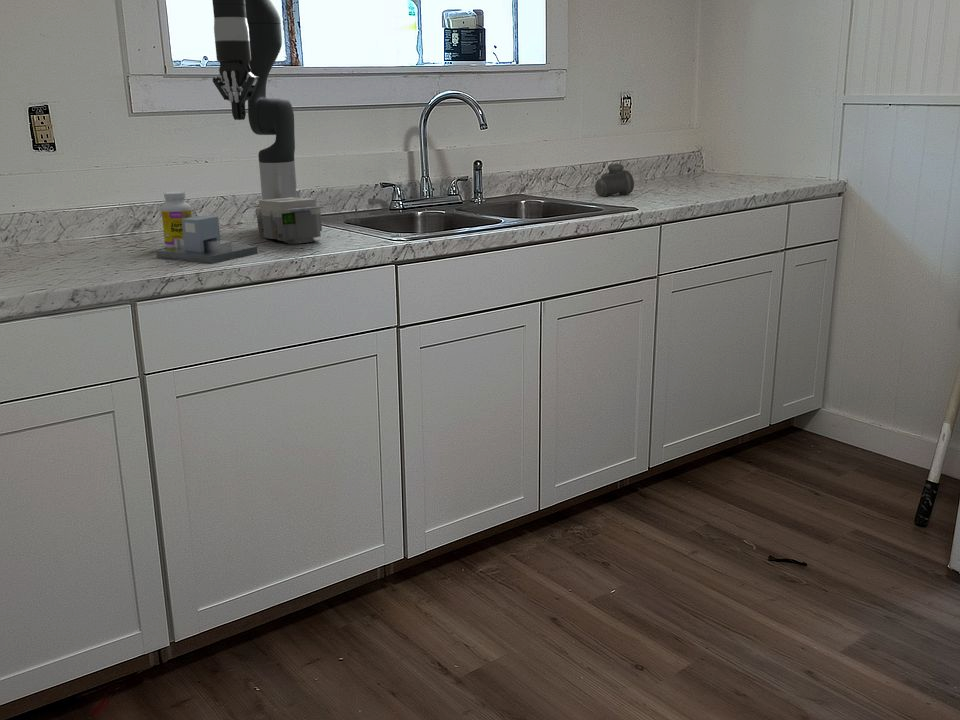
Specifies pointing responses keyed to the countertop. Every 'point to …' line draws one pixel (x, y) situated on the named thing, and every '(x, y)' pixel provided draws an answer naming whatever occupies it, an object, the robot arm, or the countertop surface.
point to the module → (199, 231)
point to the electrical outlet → (289, 219)
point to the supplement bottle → (174, 216)
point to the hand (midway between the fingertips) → (239, 119)
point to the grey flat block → (207, 251)
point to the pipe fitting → (615, 181)
